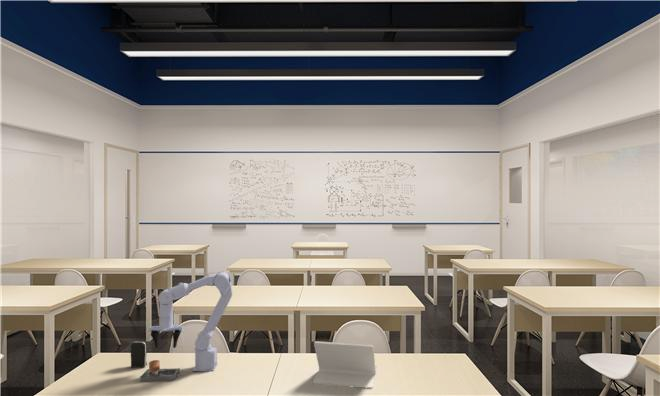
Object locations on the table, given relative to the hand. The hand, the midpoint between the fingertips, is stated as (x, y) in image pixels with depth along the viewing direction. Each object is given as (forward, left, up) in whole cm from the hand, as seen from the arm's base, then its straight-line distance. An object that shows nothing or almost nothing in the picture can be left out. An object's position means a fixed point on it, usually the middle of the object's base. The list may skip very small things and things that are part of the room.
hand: (166, 347), depth 186 cm
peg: (+3, +7, -10) cm, 13 cm away
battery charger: (+14, -6, -11) cm, 19 cm away
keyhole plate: (0, +7, -10) cm, 13 cm away
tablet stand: (-80, +12, -11) cm, 81 cm away
